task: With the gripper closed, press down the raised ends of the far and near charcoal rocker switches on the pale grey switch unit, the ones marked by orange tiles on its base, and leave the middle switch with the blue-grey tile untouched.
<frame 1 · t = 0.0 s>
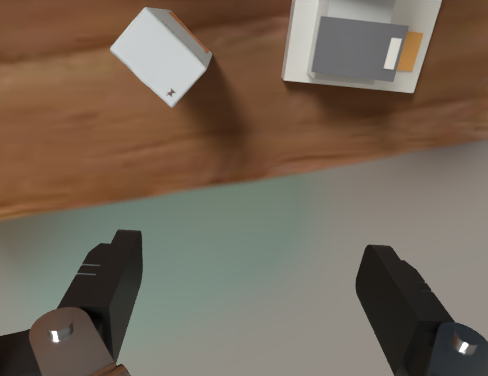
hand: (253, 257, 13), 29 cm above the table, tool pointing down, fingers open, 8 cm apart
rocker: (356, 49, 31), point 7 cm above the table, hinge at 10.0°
skincare box: (178, 46, 37), on the table
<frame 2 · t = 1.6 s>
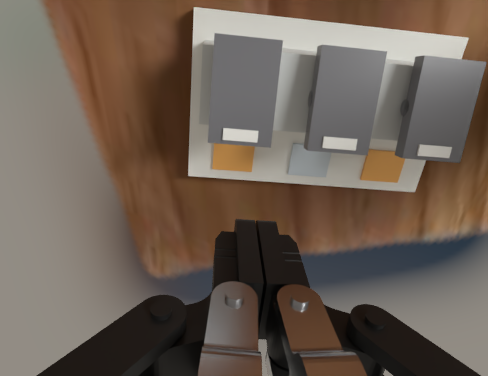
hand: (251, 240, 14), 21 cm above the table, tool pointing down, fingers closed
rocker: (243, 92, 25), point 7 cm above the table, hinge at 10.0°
rocker middle: (342, 102, 25), point 7 cm above the table, hinge at 10.0°
switch unit: (313, 106, 33), on the table
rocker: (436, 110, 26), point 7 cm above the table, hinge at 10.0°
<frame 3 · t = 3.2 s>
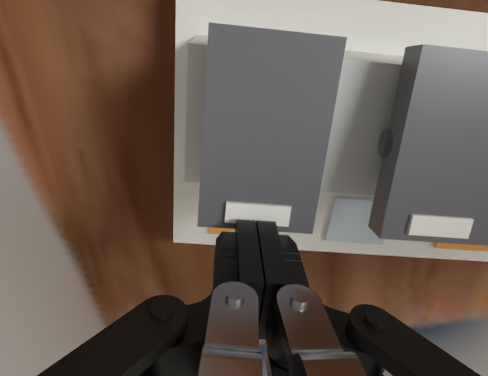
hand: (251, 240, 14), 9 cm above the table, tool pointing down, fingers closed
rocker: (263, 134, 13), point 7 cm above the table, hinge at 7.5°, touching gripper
rocker middle: (444, 149, 14), point 7 cm above the table, hinge at 10.0°
switch unit: (366, 137, 21), on the table
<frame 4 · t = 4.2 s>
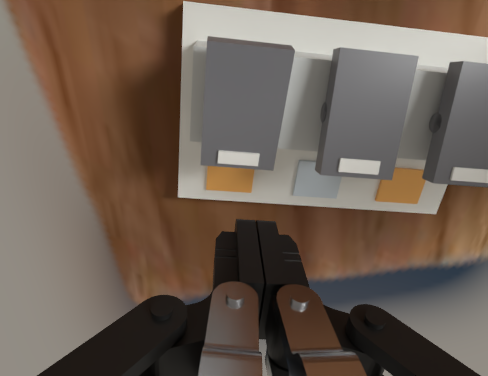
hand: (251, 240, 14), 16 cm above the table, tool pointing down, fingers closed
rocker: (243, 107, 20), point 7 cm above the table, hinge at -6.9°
rocker middle: (362, 116, 21), point 7 cm above the table, hinge at 10.0°
switch unit: (322, 117, 28), on the table
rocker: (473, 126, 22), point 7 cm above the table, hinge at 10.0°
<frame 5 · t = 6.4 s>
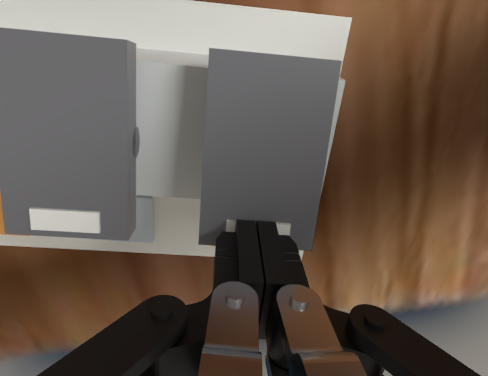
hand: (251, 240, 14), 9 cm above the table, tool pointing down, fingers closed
rocker middle: (71, 139, 13), point 7 cm above the table, hinge at 10.0°
switch unit: (126, 131, 20), on the table
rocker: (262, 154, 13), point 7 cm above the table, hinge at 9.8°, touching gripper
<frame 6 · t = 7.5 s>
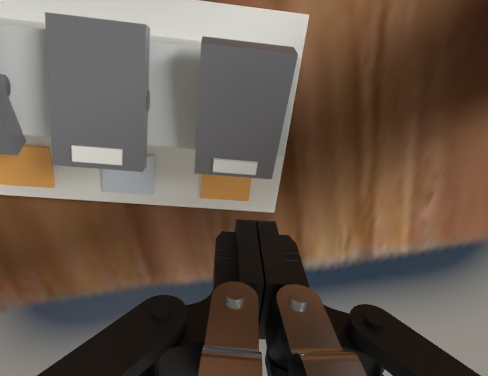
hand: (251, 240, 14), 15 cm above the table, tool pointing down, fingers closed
rocker middle: (102, 97, 18), point 7 cm above the table, hinge at 10.0°
switch unit: (133, 103, 25), on the table
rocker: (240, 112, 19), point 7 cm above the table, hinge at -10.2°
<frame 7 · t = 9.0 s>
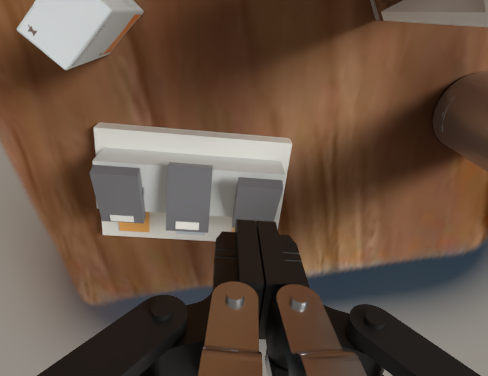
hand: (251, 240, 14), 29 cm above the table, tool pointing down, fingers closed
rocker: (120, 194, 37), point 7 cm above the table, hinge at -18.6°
rocker middle: (189, 197, 37), point 7 cm above the table, hinge at 10.0°
switch unit: (194, 184, 45), on the table
skincare box: (111, 17, 36), on the table
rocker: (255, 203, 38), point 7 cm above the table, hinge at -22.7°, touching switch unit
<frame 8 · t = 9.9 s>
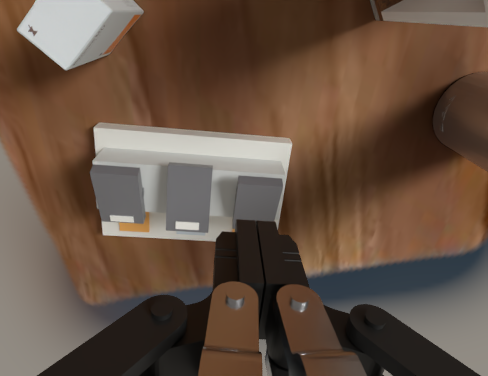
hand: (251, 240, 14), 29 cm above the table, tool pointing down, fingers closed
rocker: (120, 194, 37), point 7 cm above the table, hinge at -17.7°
rocker middle: (189, 197, 37), point 7 cm above the table, hinge at 10.0°
switch unit: (194, 184, 45), on the table
skincare box: (111, 17, 36), on the table
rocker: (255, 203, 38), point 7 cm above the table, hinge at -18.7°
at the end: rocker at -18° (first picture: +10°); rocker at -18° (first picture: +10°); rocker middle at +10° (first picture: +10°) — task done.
